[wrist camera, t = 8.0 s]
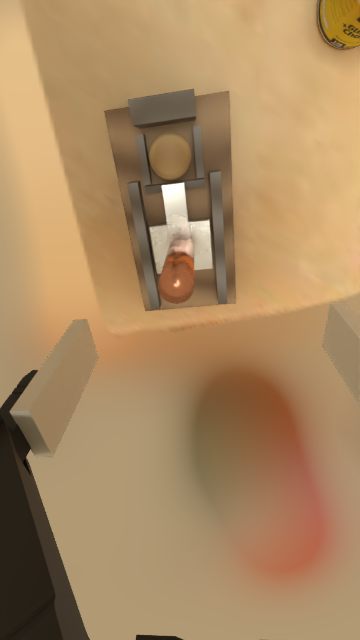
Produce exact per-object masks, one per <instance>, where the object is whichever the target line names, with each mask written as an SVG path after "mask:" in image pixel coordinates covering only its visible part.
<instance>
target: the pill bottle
mask: <svg viewBox="0 0 360 640" xmlns="http://www.w3.org/2000/svg"><path fill="white" fill-rule="evenodd" d="M318 24H319V28H320V31H321V33H322V35H323V37H324V39H325V40H326V41H327V42H328V43H329V44H330V45H332V46H333V47H335V48H339V49H351V48H354V47H357V46H359V45H360V0H319V4H318Z"/></svg>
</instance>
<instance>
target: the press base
mask: <svg viewBox="0 0 360 640" xmlns="http://www.w3.org/2000/svg"><path fill="white" fill-rule="evenodd" d="M128 102H129V107H126V108H120V109H114V110H107V111H104V112H105V117H106V122H107V127H108V132H109V137H110V141H111V146H112V151H113V156H114V161H115V166H116V171H117V176H118V180H119V185H120V190H121V195H122V200H123V205H124V210H125V214H126V219H127V224H128V229H129V234H130V239H131V244H132V248H133V253H134V258H135V263H136V268H137V273H138V278H139V282H140V287H141V292H142V297H143V302H144V307H145V311H152V310H164V309H175V308H187V307H199V306H211V305H222V304H234V303H236V294H235V263H234V232H233V201H232V170H231V139H230V107H229V91H225V92H219V93H213V94H207V95H201V96H194V89H190V90H184V91H178V92H172V93H165V94H159V95H153V96H147V97H141V98H135V99H129V100H128ZM166 132H174V133H177V134H179V135H181V136H182V137H183V138H184V139H185V140H186V141H187V143H188V145H189V147H190V150H191V163H190V166H189V168H188V170H187V172H186V173H185V174H184V175H183V176H181V177H180V178H178V179H175V180H166V179H163V178H161V177H159V176H158V175H157V174H156V173H155V172H154V170H153V169H152V167H151V164H150V160H149V151H150V147H151V145H152V143H153V141H154V140H155V139H156V137H158V136H159V135H161V134H163V133H166ZM181 181H185V189H186V199H187V209H188V218H189V220H197V219H205V218H209V224H210V238H211V252H212V266H213V268H212V269H201V270H194V291H193V294H192V296H191V297H190V298H189V299H188V300H187V301H185V302H183V303H179V304H173V303H170V302H167V301H166V300H164V299H163V298H162V297H161V295H160V294H159V291H158V282H159V279H160V276H161V274H157V269H156V263H155V257H154V251H153V245H152V240H151V234H150V228H149V227H150V225H154V224H162V223H167V220H166V213H165V206H164V199H163V192H162V185H163V184H166V183H174V182H181Z"/></svg>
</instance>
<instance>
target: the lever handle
mask: <svg viewBox="0 0 360 640" xmlns="http://www.w3.org/2000/svg"><path fill="white" fill-rule="evenodd" d="M162 192H163V199H164V206H165V213H166V220H167V223H162V224H154V225H150V227H149V228H150V234H151V240H152V245H153V251H154V257H155V263H156V269H157V274H161V276H160V279H159V282H158V291H159V294H160V295H161V297H162V298H163V299H164V300H166V301H167V302H170V303H173V304H179V303H183V302H185V301H187V300H188V299H189V298H190V297H191V296H192V294H193V291H194V270H201V269H212V268H213V266H212V252H211V238H210V224H209V218H205V219H197V220H189V218H188V209H187V199H186V189H185V181H181V182H174V183H166V184H163V185H162Z"/></svg>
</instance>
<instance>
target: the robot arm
mask: <svg viewBox="0 0 360 640" xmlns="http://www.w3.org/2000/svg"><path fill="white" fill-rule="evenodd" d="M323 348H324V349H325V351H326V352H327V354H328V356H329V357H330V359H331V361H332V362H333V364H334V365H335V367H336V369H337V370H338V372H339V373H340V375H341V377H342V378H343V380H344V381H345V383H346V385H347V386H348V388H349V389H350V391H351V393H352V394H353V396H354V397H355V399H356V401H357V402H358V404H359V406H360V317H359V316H358V315H357V314H356V313H355V312H354V311H353V310H352V309H351V308H350V306H349V305H348V304H347V303H346V302H339V303H330V306H329V312H328V318H327V324H326V329H325V335H324V340H323ZM98 358H99V357H98V354H97V351H96V347H95V344H94V341H93V338H92V334H91V331H90V328H89V324H88V321H87V319H82V320H73V322H72V323H71V325H70V326H69V328H68V329H67V330H66V332H65V333H64V335H63V336H62V338H61V339H60V341H59V342H58V343H57V345H56V346H55V347H54V349H53V351H52V352H51V353H50V355H49V356H48V357H47V359H46V360H45V362H44V363H43V365H42V366H41V367H40V369H39V370H32V371H31V372H30V373H28V374H27V375H26V376H25V377H23V378H22V380H21V381H20V382H19V384H18V385H17V388H15V389H14V391H13V392H12V394H11V395H10V396H9V397H8V399H7V400H6V401H5V403H4V404H3V405H2V407H1V408H0V640H90V639H89V637H88V635H87V632H86V630H85V627H84V624H83V621H82V618H81V615H80V612H79V609H78V606H77V603H76V600H75V597H74V595H73V592H72V589H71V586H70V583H69V580H68V577H67V574H66V571H65V568H64V565H63V562H62V559H61V556H60V553H59V550H58V547H57V544H56V541H55V538H54V536H53V532H52V530H51V527H50V524H49V521H48V518H47V515H46V512H45V509H44V506H43V503H42V500H41V497H40V494H39V491H38V488H37V485H36V482H35V479H34V476H33V473H32V470H31V467H30V465H29V462H28V460H27V458H26V456H27V454H28V452H29V451H30V449H31V450H32V452H33V454H34V456H35V457H36V458H38V457H53V456H54V454H55V452H56V450H57V447H58V445H59V443H60V441H61V439H62V437H63V434H64V432H65V430H66V428H67V426H68V424H69V421H70V419H71V417H72V415H73V413H74V411H75V408H76V406H77V404H78V402H79V400H80V398H81V395H82V393H83V391H84V389H85V387H86V384H87V382H88V380H89V378H90V376H91V373H92V372H93V369H94V367H95V365H96V362H97V361H98ZM136 640H183V639H180V638H178V637H176V636H155V635H136Z"/></svg>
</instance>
